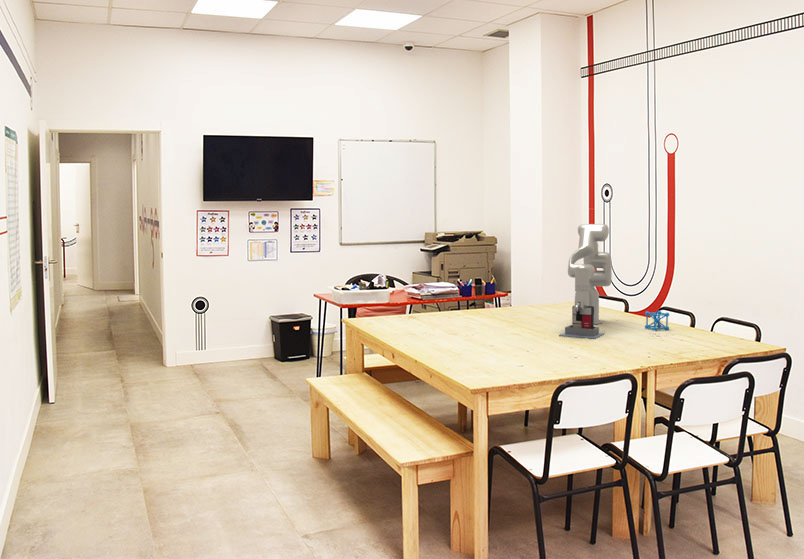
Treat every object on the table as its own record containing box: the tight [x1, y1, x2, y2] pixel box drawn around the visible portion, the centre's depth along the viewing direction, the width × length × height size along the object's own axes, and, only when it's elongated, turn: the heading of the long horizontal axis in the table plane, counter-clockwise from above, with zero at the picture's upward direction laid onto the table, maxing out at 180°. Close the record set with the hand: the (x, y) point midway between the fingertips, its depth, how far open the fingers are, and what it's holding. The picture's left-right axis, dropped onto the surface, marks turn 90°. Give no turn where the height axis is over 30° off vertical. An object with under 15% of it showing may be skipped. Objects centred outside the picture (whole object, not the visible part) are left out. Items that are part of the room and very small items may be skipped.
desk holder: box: [558, 324, 605, 340], centre depth 397 cm, size 16×20×4 cm
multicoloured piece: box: [571, 305, 595, 329], centre depth 398 cm, size 11×4×15 cm, turn 58°
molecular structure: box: [644, 310, 670, 331], centre depth 411 cm, size 10×10×10 cm
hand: (582, 319), depth 397 cm, fingers open, 9 cm apart
